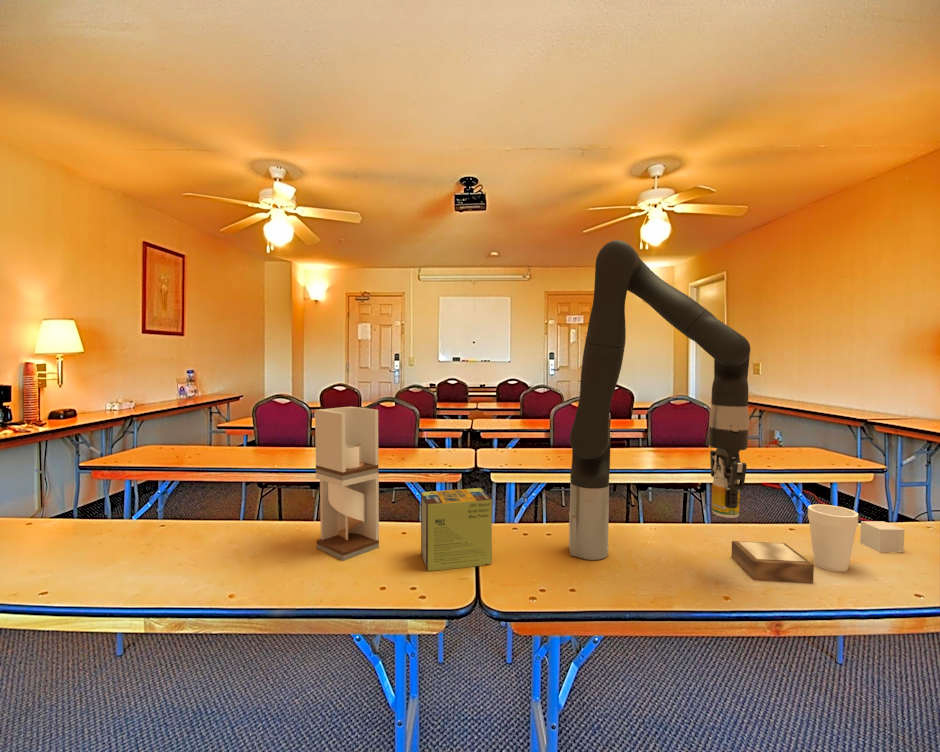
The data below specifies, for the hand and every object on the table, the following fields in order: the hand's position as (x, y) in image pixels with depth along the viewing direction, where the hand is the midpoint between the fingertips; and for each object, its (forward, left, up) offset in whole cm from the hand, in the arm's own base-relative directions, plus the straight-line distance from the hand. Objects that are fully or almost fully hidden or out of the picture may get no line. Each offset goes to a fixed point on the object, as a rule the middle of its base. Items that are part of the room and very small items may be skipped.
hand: (725, 502), depth 106 cm
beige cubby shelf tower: (-88, +5, -17) cm, 90 cm away
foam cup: (+27, +10, -17) cm, 34 cm away
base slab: (+12, +6, -17) cm, 22 cm away
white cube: (+46, +23, -17) cm, 54 cm away
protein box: (-60, +2, -17) cm, 62 cm away
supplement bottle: (0, 0, -3) cm, 3 cm away
